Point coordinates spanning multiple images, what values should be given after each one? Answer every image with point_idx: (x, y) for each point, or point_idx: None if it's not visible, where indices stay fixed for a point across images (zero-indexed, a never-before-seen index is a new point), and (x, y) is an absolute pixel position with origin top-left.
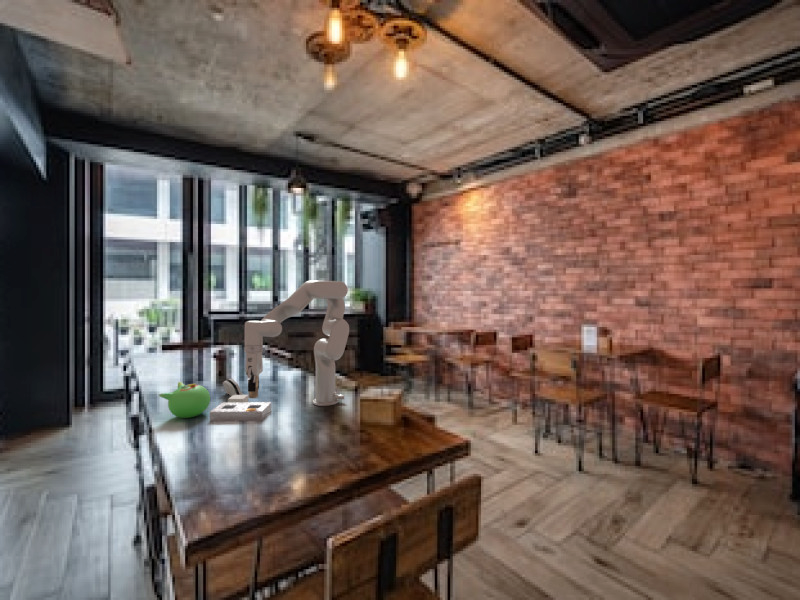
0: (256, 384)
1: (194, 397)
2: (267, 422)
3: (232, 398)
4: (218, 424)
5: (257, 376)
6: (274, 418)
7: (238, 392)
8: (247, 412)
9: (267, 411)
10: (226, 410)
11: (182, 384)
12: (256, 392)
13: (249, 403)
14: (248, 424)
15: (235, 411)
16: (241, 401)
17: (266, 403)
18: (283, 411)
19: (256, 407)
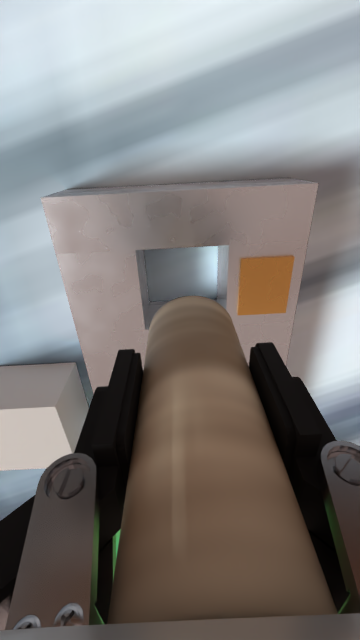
0: (244, 397)
1: None
2: (334, 120)
3: (64, 453)
4: (309, 377)
5: (255, 547)
6: (245, 91)
7: None
8: (296, 291)
9: (161, 186)
10: None
11: None
12: (220, 328)
13: (108, 346)
14: (345, 242)
15: (283, 361)
16: (64, 402)
17: (86, 227)
18: (56, 67)
19: (141, 283)
